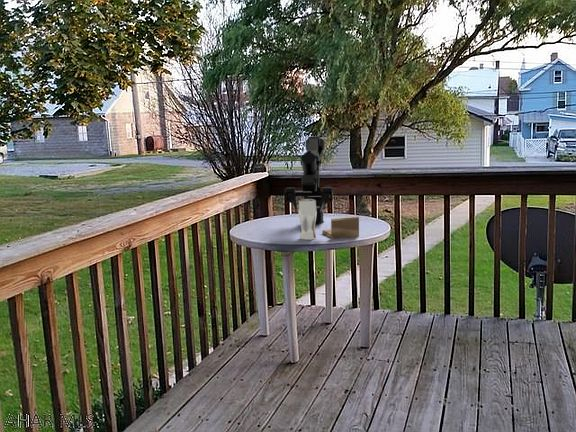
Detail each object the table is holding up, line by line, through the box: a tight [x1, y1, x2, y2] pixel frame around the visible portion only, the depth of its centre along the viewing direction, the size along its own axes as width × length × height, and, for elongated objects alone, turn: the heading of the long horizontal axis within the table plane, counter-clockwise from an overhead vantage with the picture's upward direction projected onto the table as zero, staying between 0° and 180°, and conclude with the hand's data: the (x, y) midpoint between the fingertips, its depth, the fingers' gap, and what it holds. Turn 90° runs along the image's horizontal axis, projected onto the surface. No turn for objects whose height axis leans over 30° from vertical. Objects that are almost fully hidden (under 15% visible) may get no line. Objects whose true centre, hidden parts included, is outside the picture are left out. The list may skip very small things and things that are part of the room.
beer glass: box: [297, 198, 318, 241], centre depth 214 cm, size 7×7×15 cm
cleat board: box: [322, 215, 360, 240], centre depth 219 cm, size 10×11×8 cm
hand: (307, 211), depth 215 cm, fingers open, 9 cm apart
